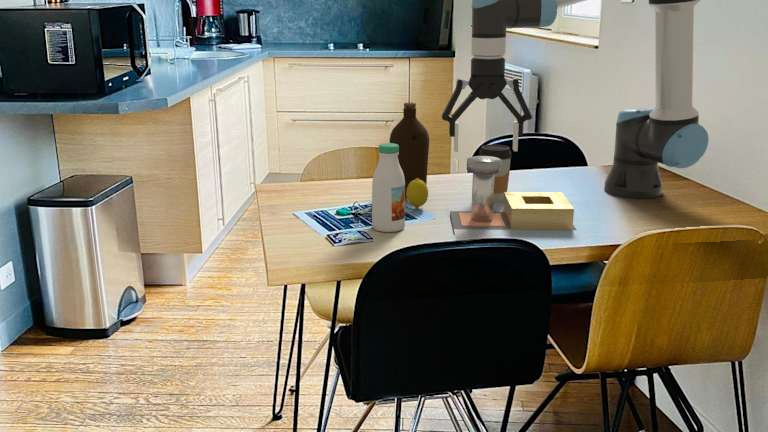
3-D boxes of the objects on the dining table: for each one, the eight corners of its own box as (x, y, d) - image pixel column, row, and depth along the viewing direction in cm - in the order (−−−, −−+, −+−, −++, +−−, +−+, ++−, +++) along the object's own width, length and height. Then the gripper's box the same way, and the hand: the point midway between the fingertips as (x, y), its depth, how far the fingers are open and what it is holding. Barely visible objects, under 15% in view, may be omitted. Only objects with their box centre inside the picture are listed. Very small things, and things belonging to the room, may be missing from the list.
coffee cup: (508, 209, 193) (511, 151, 188) (475, 207, 194) (477, 150, 190) (509, 200, 201) (512, 144, 196) (478, 198, 202) (480, 143, 198)
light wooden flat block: (560, 212, 185) (561, 192, 184) (572, 229, 172) (574, 208, 170) (502, 211, 186) (504, 191, 184) (510, 229, 172) (511, 208, 171)
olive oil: (436, 195, 205) (438, 103, 198) (408, 202, 198) (409, 107, 191) (408, 187, 213) (409, 99, 205) (381, 194, 206) (381, 103, 198)
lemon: (405, 205, 196) (405, 175, 193) (426, 205, 196) (426, 175, 194) (407, 211, 190) (407, 181, 188) (429, 211, 191) (429, 180, 188)
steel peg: (496, 214, 183) (499, 156, 178) (500, 224, 175) (503, 164, 171) (463, 213, 183) (465, 155, 178) (466, 224, 175) (468, 163, 171)
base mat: (563, 217, 186) (564, 211, 185) (576, 236, 172) (576, 229, 172) (449, 216, 186) (450, 210, 186) (453, 235, 173) (453, 228, 172)
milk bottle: (379, 234, 173) (379, 149, 167) (367, 225, 180) (366, 142, 174) (410, 230, 176) (411, 146, 170) (396, 221, 183) (397, 140, 177)
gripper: (541, 54, 171) (537, 146, 177) (431, 55, 172) (430, 147, 178) (547, 57, 164) (542, 153, 170) (432, 59, 164) (431, 154, 171)
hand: (485, 150), depth 174 cm, fingers open, 13 cm apart
